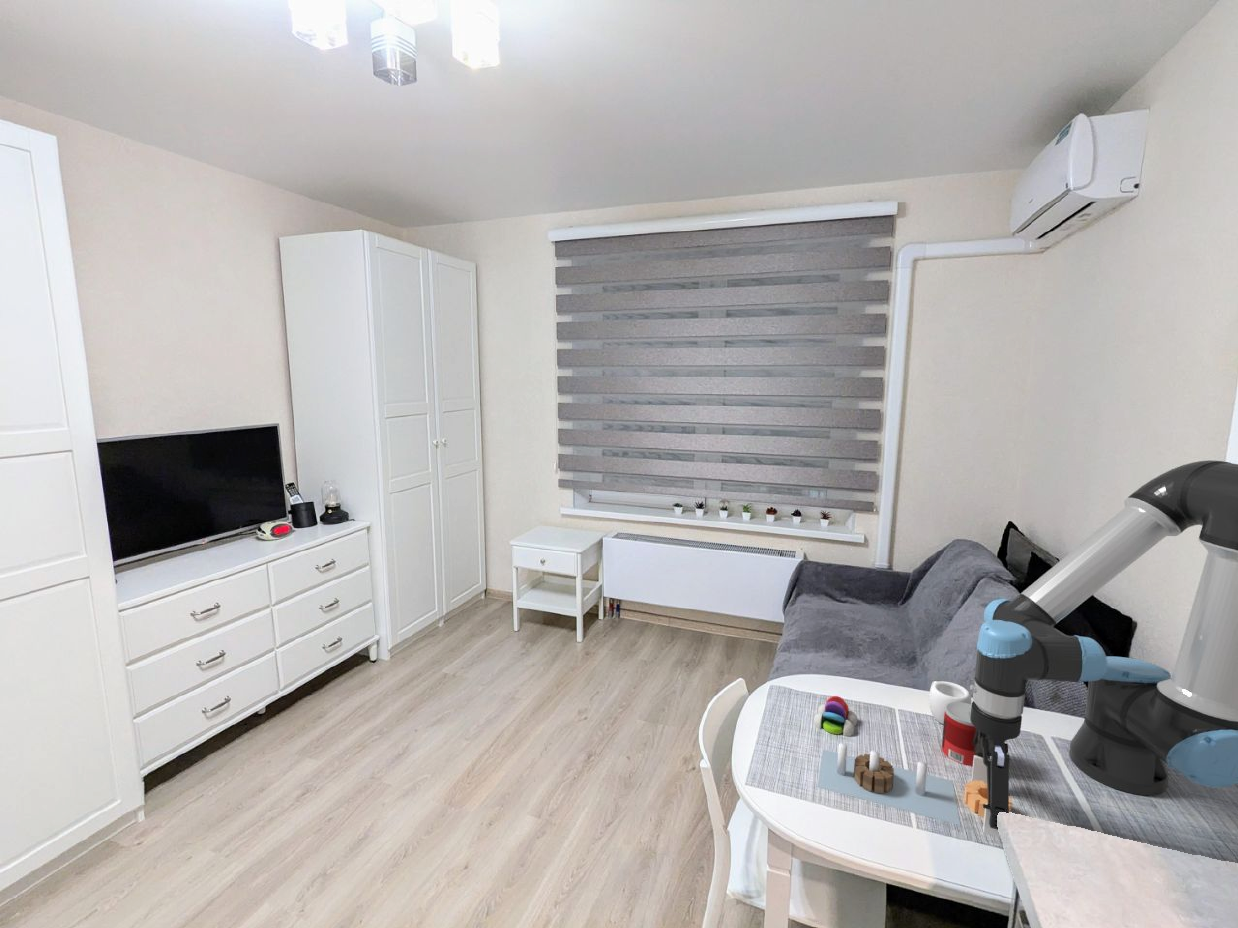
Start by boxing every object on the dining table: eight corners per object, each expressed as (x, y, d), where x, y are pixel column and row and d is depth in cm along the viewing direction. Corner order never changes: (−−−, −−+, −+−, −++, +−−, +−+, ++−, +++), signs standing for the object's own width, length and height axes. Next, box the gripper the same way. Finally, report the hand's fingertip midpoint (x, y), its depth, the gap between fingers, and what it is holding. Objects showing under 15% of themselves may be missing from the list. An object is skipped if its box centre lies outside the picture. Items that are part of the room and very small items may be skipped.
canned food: (991, 775, 115) (996, 725, 113) (948, 770, 117) (952, 721, 115) (976, 750, 122) (981, 703, 121) (935, 746, 124) (939, 699, 122)
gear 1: (892, 772, 114) (893, 759, 113) (893, 797, 107) (894, 783, 107) (854, 763, 116) (855, 750, 116) (853, 786, 110) (853, 772, 110)
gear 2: (1004, 805, 107) (1006, 786, 106) (1012, 833, 101) (1015, 813, 100) (961, 794, 110) (963, 776, 109) (966, 821, 103) (968, 801, 103)
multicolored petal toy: (858, 723, 132) (860, 694, 131) (850, 747, 124) (852, 716, 123) (821, 712, 137) (822, 684, 136) (810, 734, 129) (812, 704, 128)
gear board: (952, 787, 112) (955, 753, 110) (959, 832, 101) (963, 795, 100) (822, 755, 121) (824, 723, 120) (817, 793, 111) (818, 758, 109)
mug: (977, 731, 129) (980, 699, 127) (940, 731, 129) (942, 699, 127) (947, 700, 141) (950, 671, 139) (913, 701, 141) (915, 671, 139)
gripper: (962, 669, 114) (953, 764, 118) (983, 743, 92) (971, 858, 95) (1007, 677, 111) (996, 774, 115) (1039, 756, 89) (1025, 873, 92)
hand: (984, 812), depth 105 cm, fingers open, 13 cm apart
